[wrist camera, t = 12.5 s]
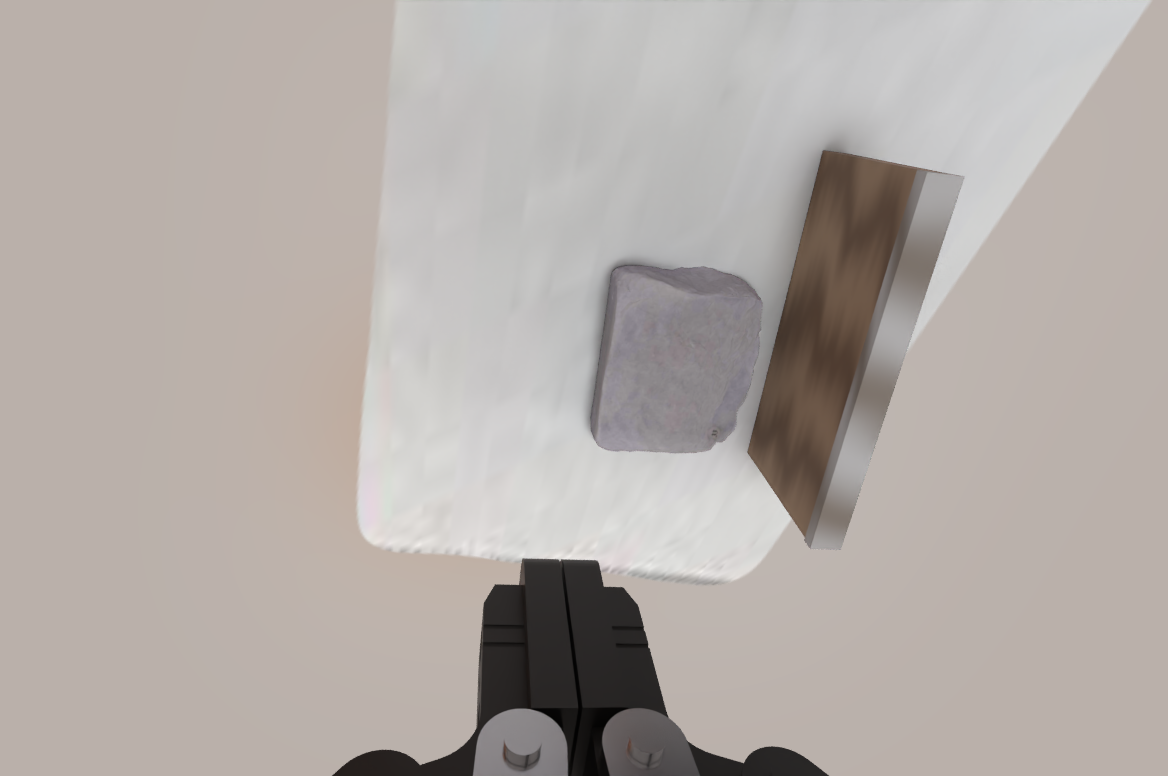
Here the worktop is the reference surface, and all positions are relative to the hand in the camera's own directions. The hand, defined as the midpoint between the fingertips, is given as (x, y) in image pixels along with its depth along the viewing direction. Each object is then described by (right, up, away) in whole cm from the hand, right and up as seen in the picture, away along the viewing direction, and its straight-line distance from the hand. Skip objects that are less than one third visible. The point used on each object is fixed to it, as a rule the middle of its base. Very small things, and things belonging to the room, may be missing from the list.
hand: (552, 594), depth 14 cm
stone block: (+6, +6, +30) cm, 32 cm away
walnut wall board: (+14, +9, +30) cm, 34 cm away
